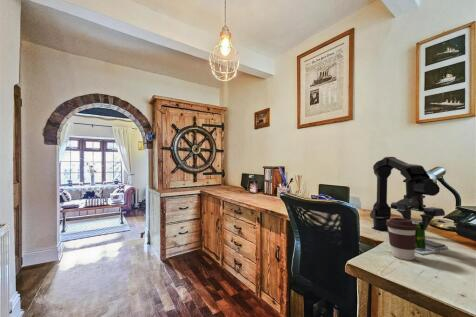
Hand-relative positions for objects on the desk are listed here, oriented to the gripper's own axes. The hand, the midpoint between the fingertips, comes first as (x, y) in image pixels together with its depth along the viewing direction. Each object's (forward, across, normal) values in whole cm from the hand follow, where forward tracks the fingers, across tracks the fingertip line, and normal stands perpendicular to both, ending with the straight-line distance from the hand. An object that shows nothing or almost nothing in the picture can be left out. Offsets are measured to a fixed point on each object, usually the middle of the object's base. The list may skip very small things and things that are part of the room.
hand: (416, 228), depth 91 cm
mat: (+9, 0, 0) cm, 9 cm away
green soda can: (+9, 0, 0) cm, 9 cm away
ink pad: (+9, -2, +10) cm, 14 cm away
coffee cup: (+10, +4, -14) cm, 17 cm away
